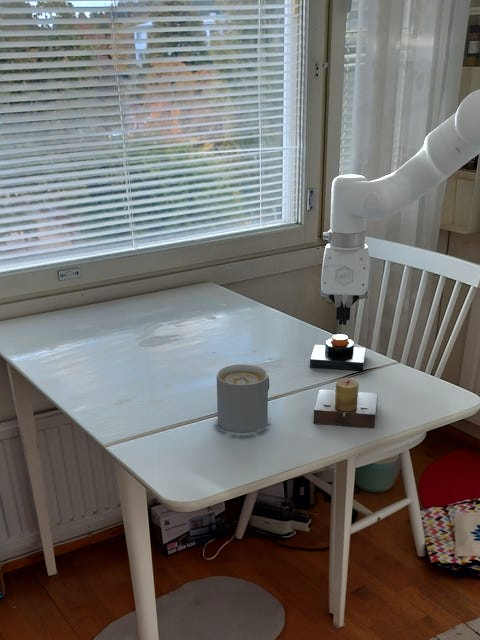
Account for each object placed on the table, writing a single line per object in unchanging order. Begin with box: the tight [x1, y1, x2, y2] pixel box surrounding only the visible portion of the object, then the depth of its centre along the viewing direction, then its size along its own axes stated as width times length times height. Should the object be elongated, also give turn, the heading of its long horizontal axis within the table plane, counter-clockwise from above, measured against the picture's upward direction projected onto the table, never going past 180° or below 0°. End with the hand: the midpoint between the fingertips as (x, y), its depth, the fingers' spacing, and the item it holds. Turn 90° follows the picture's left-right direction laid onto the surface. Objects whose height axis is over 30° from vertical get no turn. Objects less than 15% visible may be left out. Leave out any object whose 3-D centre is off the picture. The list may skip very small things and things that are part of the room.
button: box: [331, 333, 349, 346], centre depth 180 cm, size 4×4×2 cm
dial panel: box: [312, 388, 379, 429], centre depth 157 cm, size 12×12×3 cm
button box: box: [309, 337, 367, 373], centre depth 180 cm, size 12×10×4 cm
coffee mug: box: [216, 363, 270, 434], centre depth 154 cm, size 13×10×10 cm
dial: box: [335, 376, 360, 411], centre depth 153 cm, size 4×4×5 cm
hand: (342, 322), depth 177 cm, fingers closed
